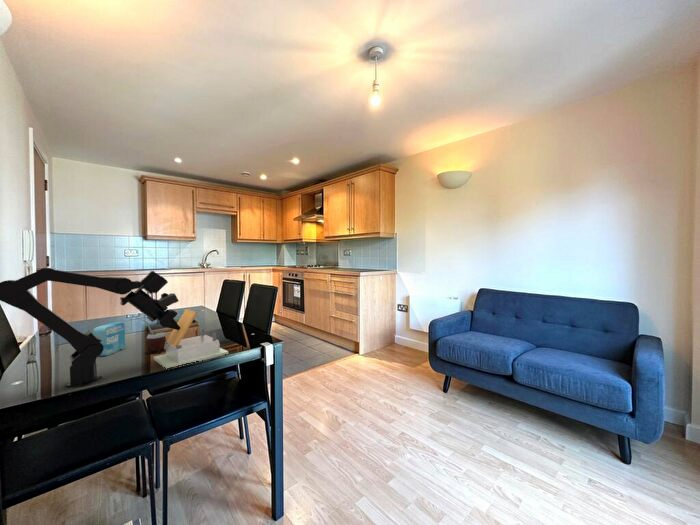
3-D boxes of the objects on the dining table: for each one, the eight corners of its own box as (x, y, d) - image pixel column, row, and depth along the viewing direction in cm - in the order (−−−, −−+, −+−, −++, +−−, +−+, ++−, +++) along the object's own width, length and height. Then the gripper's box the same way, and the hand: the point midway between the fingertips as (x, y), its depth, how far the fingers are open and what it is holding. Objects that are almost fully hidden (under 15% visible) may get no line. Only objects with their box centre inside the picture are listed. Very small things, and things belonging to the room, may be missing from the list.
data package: (105, 356, 120) (104, 327, 120) (93, 357, 120) (92, 328, 120) (125, 348, 132) (124, 321, 132) (115, 348, 132) (114, 322, 132)
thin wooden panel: (176, 347, 108) (174, 346, 108) (168, 342, 116) (166, 341, 115) (197, 312, 114) (195, 311, 113) (187, 309, 121) (186, 308, 121)
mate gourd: (169, 351, 126) (168, 316, 125) (148, 356, 119) (147, 319, 119) (161, 348, 130) (159, 314, 130) (140, 353, 123) (139, 317, 123)
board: (166, 369, 103) (166, 366, 103) (153, 359, 115) (153, 356, 115) (228, 353, 119) (228, 351, 119) (211, 346, 131) (211, 343, 131)
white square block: (178, 363, 107) (177, 341, 107) (166, 354, 117) (165, 334, 117) (219, 352, 118) (219, 332, 118) (205, 345, 128) (204, 327, 128)
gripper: (170, 287, 104) (203, 315, 112) (156, 285, 117) (187, 310, 125) (144, 313, 98) (181, 339, 106) (132, 307, 111) (165, 332, 119)
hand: (179, 328), depth 114 cm, fingers closed, pressing on thin wooden panel
